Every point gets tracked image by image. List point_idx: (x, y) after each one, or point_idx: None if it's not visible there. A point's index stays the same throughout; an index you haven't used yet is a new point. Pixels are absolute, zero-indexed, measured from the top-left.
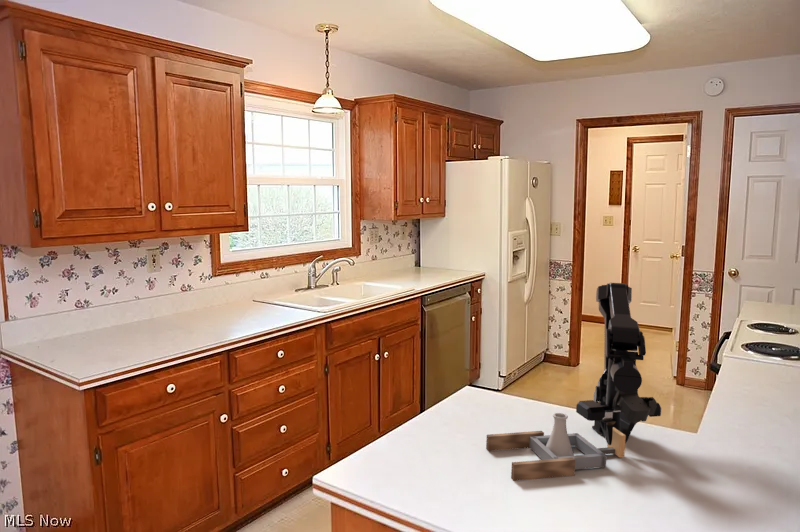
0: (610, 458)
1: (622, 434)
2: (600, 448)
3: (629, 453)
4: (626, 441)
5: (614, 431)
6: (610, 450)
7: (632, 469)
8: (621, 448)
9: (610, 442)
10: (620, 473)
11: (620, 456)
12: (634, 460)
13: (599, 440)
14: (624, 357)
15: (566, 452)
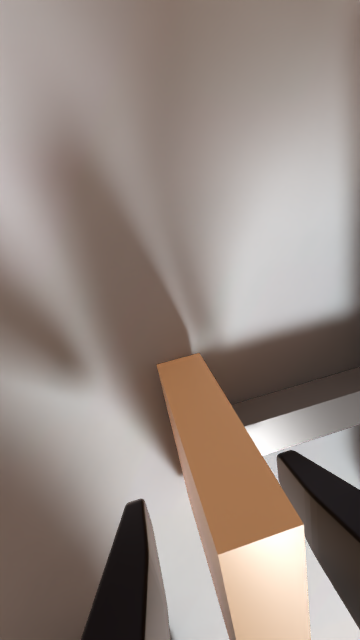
0: (256, 352)
1: (255, 569)
2: (329, 428)
3: (72, 453)
4: (119, 525)
5: (308, 626)
6: (259, 417)
7: (162, 149)
8: (211, 399)
9: (307, 465)
10: (311, 59)
11: (193, 358)
12: (73, 338)
13: (207, 582)
14: None
15: None
